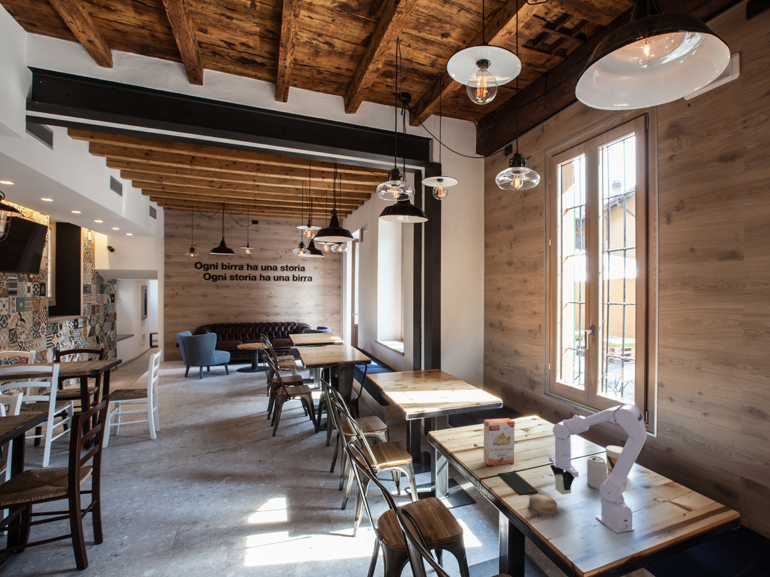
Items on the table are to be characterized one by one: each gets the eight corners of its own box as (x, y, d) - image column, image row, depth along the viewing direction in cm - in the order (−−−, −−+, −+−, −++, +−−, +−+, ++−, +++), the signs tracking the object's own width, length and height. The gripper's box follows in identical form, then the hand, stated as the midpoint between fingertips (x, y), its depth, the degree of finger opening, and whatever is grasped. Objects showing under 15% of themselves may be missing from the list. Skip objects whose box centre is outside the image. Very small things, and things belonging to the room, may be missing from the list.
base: (562, 513, 140) (562, 506, 140) (540, 516, 138) (540, 510, 138) (545, 499, 150) (545, 492, 150) (524, 502, 148) (524, 495, 148)
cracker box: (488, 466, 178) (489, 423, 179) (483, 460, 184) (483, 419, 185) (514, 463, 181) (515, 421, 182) (508, 458, 187) (508, 417, 188)
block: (571, 493, 146) (570, 478, 146) (562, 494, 145) (562, 479, 145) (563, 488, 150) (563, 473, 150) (555, 489, 149) (555, 474, 149)
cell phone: (514, 473, 172) (514, 471, 172) (538, 493, 155) (538, 491, 155) (497, 475, 170) (497, 473, 171) (519, 496, 153) (519, 493, 153)
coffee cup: (603, 475, 170) (603, 449, 170) (608, 468, 177) (608, 443, 177) (627, 482, 164) (627, 455, 164) (631, 475, 171) (631, 449, 171)
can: (590, 479, 166) (590, 453, 166) (609, 486, 161) (609, 458, 161) (584, 485, 161) (584, 458, 161) (604, 492, 155) (604, 464, 156)
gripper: (542, 446, 154) (542, 479, 153) (567, 461, 140) (567, 497, 139) (557, 444, 155) (557, 477, 155) (582, 459, 141) (583, 495, 141)
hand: (563, 486), depth 147 cm, fingers closed on block, 4 cm apart
